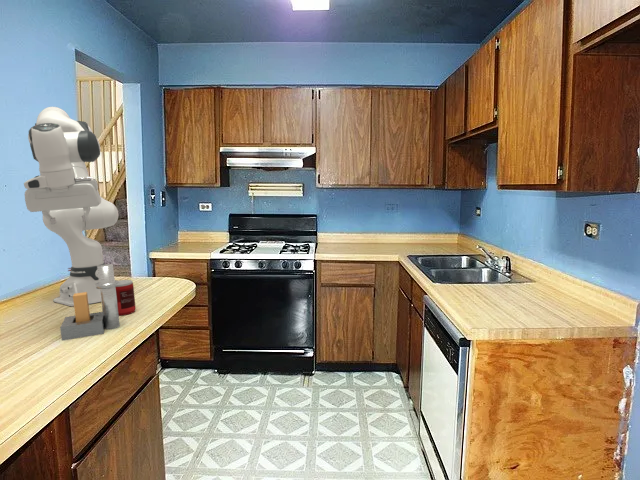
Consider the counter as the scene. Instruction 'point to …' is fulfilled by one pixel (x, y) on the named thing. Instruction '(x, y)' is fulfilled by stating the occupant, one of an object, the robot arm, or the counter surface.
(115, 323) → the grey socket with post
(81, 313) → the tall orange pillar block
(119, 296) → the canned food
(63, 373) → the counter surface
